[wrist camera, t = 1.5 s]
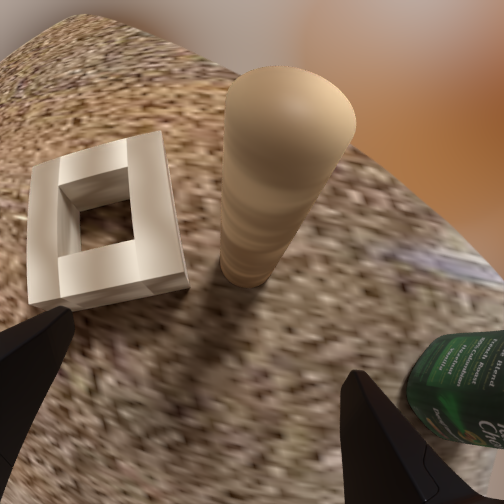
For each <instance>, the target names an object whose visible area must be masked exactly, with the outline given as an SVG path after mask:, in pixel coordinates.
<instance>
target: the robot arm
mask: <svg viewBox="0 0 504 504" xmlns="http://www.w3.org/2000/svg"><path fill="white" fill-rule="evenodd" d="M74 332H75V325H74V320H73V314H72V310H71V309H70V308H68V307H65V306H62V305H59V306H57V307H55V308H52V309H50V310H48V311H46V312H43V313H41V314H39V315H37V316H35V317H32V318H30V319H28V320H26V321H24V322H21V323H19V324H17V325H15V326H13V327H11V328H8V329H6V330H4V331H2V332H0V501H1V498H2V496H3V493H4V490H5V487H6V485H7V482H8V479H9V477H10V474H11V471H12V469H13V468H12V467H13V466H14V464H15V461H16V459H17V456H18V454H19V452H20V449H21V447H22V445H23V442H24V440H25V438H26V436H27V433H28V431H29V429H30V427H31V425H32V423H33V420H34V418H35V416H36V414H37V412H38V410H39V408H40V406H41V404H42V402H43V400H44V398H45V396H46V394H47V392H48V390H49V388H50V386H51V384H52V382H53V381H54V379H55V377H56V375H57V373H58V371H59V369H60V366H61V364H62V361H63V359H64V357H65V354H66V352H67V349H68V347H69V345H70V342H71V340H72V338H73V335H74ZM340 441H341V453H342V466H343V480H344V497H345V504H504V500H499V499H492V498H488V497H484V496H482V495H480V494H478V493H477V492H475V491H474V490H473V489H472V488H471V487H470V486H469V485H468V484H466V483H465V482H464V481H463V480H462V479H461V478H460V477H459V476H458V475H457V474H456V473H455V472H454V471H453V470H452V469H451V468H450V467H449V466H448V465H447V464H446V463H445V462H444V461H443V460H442V459H441V458H440V457H439V456H438V455H437V454H436V452H435V451H434V450H433V449H432V448H431V447H430V446H429V444H427V442H426V441H425V440H424V439H423V438H422V436H421V435H420V434H419V433H418V432H417V431H416V429H415V428H414V427H413V426H412V425H411V424H410V423H409V421H408V420H407V419H406V418H405V417H404V416H403V414H402V413H401V412H400V411H399V410H398V409H397V407H396V406H395V405H394V404H393V403H392V402H391V401H390V399H389V398H388V397H387V396H386V395H385V394H384V393H383V391H382V390H381V389H380V388H379V387H378V386H377V384H376V383H375V382H374V381H373V380H372V379H371V378H370V376H369V375H368V374H367V373H366V372H365V371H363V370H352V371H351V372H350V373H349V375H348V377H347V378H346V380H345V382H344V383H343V385H342V387H341V393H340Z"/></svg>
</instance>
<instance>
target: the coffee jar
mask: <svg viewBox="0 0 504 504" xmlns="http://www.w3.org/2000/svg"><path fill="white" fill-rule="evenodd" d="M406 391H407V399H408V402H409V404H410V406H411V408H412V409H413V411H414V412H415V414H416V415H417V416H418V418H419V419H420V420H421V421H422V422H423V423H424V425H425V426H426V427H427V428H428V429H430V430H431V431H432V432H433V433H434V434H436V435H437V436H439V437H440V438H443V439H446V440H450V441H455V442H460V443H465V444H472V445H478V446H485V447H491V448H497V449H504V330H500V331H490V332H473V333H458V334H448V335H443V336H440V337H438V338H437V339H436V340H434V341H433V342H432V343H431V344H430V345H429V347H428V348H427V349H426V350H425V352H424V353H423V354H422V355H421V357H420V358H419V360H418V361H417V363H416V365H415V366H414V368H413V370H412V372H411V374H410V376H409V379H408V384H407V390H406Z"/></svg>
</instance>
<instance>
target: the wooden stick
mask: <svg viewBox="0 0 504 504" xmlns="http://www.w3.org/2000/svg"><path fill="white" fill-rule="evenodd" d="M355 130H356V117H355V113H354V111H353V108H352V106H351V104H350V102H349V101H348V99H347V98H346V97H345V95H344V94H343V93H342V92H341V91H340V90H339V89H338V88H337V87H335V86H334V85H333V84H332V83H330V82H329V81H327V80H326V79H324V78H322V77H320V76H318V75H316V74H314V73H311V72H308V71H306V70H302V69H298V68H293V67H286V66H270V67H262V68H258V69H255V70H251V71H249V72H247V73H245V74H243V75H241V76H240V77H239V78H237V79H236V80H235V81H234V82H233V83H232V85H231V86H230V88H229V89H228V92H227V94H226V100H225V119H224V141H223V166H222V197H221V240H220V266H221V270H222V272H223V274H224V276H225V277H226V279H227V280H228V281H229V282H231V283H232V284H234V285H236V286H238V287H242V288H253V287H257V286H259V285H261V284H263V283H264V282H265V281H266V280H267V279H268V278H269V276H270V275H271V273H272V272H273V270H274V268H275V267H276V265H277V264H278V262H279V260H280V259H281V257H282V256H283V254H284V252H285V251H286V249H287V247H288V246H289V244H290V242H291V241H292V239H293V238H294V236H295V234H296V233H297V231H298V229H299V228H300V226H301V224H302V223H303V221H304V219H305V218H306V216H307V214H308V213H309V211H310V209H311V208H312V206H313V204H314V203H315V201H316V199H317V198H318V196H319V194H320V193H321V191H322V189H323V188H324V186H325V184H326V183H327V181H328V179H329V178H330V176H331V174H332V172H333V171H334V169H335V167H336V166H337V164H338V162H339V160H340V159H341V157H342V155H343V154H344V152H345V150H346V148H347V147H348V145H349V143H350V141H351V140H352V138H353V136H354V133H355Z"/></svg>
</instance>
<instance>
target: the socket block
mask: <svg viewBox="0 0 504 504" xmlns="http://www.w3.org/2000/svg"><path fill="white" fill-rule="evenodd" d="M128 199H130V202H131V212H132V222H133V230H134V240H129V241H125V242H121V243H116V244H112V245H108V246H103V247H99V248H95V249H91V250H87V251H83V252H81V237H80V212H81V211H85V210H88V209H92V208H96V207H100V206H104V205H108V204H112V203H116V202H120V201H124V200H128ZM27 285H28V302H29V305H32V306H35V307H38V308H41V309H44V310H46V311H48V310H50V309H52V308H55V307H57V306H59V305H62V306H65V307H68V308H70V309H71V310H72V312H74V311H79V310H84V309H89V308H94V307H99V306H104V305H109V304H114V303H119V302H124V301H129V300H134V299H139V298H144V297H149V296H153V295H158V294H163V293H168V292H172V291H177V290H182V289H187V288H190V283H189V278H188V273H187V268H186V263H185V258H184V253H183V248H182V243H181V237H180V232H179V226H178V221H177V215H176V209H175V203H174V197H173V191H172V185H171V179H170V172H169V166H168V160H167V156H166V151H165V147H164V142H163V137H162V132H161V130H160V131H156V132H151V133H146V134H142V135H138V136H133V137H129V138H125V139H121V140H117V141H113V142H109V143H106V144H102V145H98V146H95V147H91V148H88V149H84V150H81V151H78V152H74V153H71V154H68V155H65V156H62V157H59V158H56V159H53V160H50V161H47V162H44V163H41V164H38V165H35V166H33V168H32V175H31V184H30V194H29V206H28V222H27Z"/></svg>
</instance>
